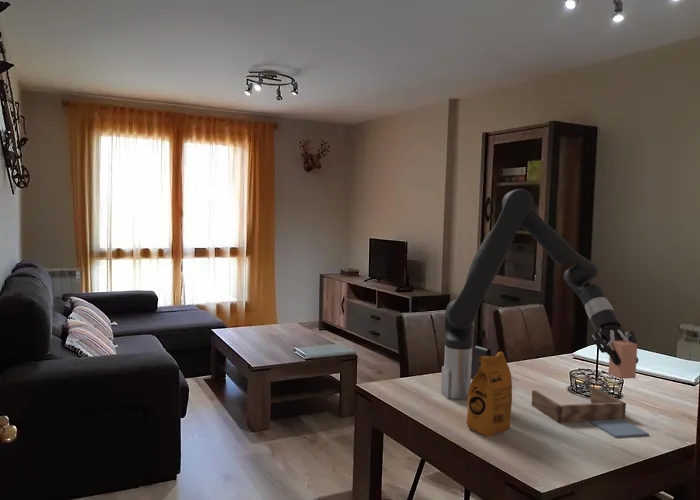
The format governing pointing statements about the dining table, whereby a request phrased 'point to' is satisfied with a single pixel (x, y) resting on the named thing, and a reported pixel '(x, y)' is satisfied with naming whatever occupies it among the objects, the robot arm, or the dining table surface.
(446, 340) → the robot arm
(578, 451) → the dining table surface
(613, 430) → the slate mat
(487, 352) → the door stopper
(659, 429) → the dining table surface
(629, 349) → the terracotta block
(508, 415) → the coffee package
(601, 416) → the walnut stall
